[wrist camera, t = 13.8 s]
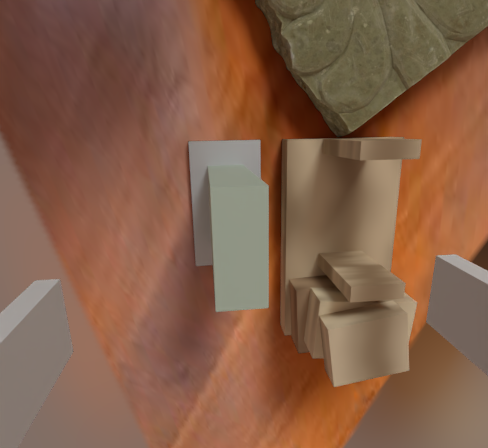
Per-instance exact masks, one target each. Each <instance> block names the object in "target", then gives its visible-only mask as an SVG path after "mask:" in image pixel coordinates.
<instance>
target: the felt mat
mask: <svg viewBox="0 0 488 448" xmlns="http://www.w3.org/2000/svg"><path fill="white" fill-rule="evenodd" d="M188 143H189V160H190V177H191V194H192V211H193V228H194V245H195V261H196V266H206V265H213V263H212V248H211V228H210V207H209V185H208V166H220V165H244V166H245V167H246V168H247V169H249V170H250V171H251V172H252V173H254V174H255V175H256V176H257V177H258V178H260V179H261V170H260V140H230V141H189V142H188Z"/></svg>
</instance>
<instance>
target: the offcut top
mask: <svg viewBox="0 0 488 448" xmlns="http://www.w3.org/2000/svg"><path fill="white" fill-rule="evenodd" d="M319 320H320V329H321V338H322V347H323V356H324V365H325V370H326V372H327V374H328V376H329V378H330V380H331V382H332V384H333V386H334V387H336V386H341V385H345V384H350V383H354V382H359V381H363V380H368V379H373V378H377V377H382V376H386V375H391V374H395V373H400V372H404V371H409V348H408V315H407V312H405V311H404V310H403V309H402V308H401V307H400V306H399V305H398V304H396V303H395V302H394V301H393V300H392V301H387V302H382V303H378V304H373V305H368V306H363V307H358V308H353V309H348V310H344V311H339V312H334V313H329V314H324V315H319Z"/></svg>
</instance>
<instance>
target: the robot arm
mask: <svg viewBox="0 0 488 448" xmlns="http://www.w3.org/2000/svg"><path fill="white" fill-rule="evenodd" d="M426 322H427V323H428V324H429V325H430V326H432V327H433V328H434V329H435V330H436V331H437V332H438V333H439V334H441V335H442V336H443V337H444V338H445V339H446V340H448V341H449V342H450V343H451V344H452V345H453V346H454V347H455V348H457V349H458V350H459V351H460V352H461V353H462V354H463V355H465V356H466V357H467V358H468V359H469V360H470V361H472V362H473V363H474V364H475V365H476V366H477V367H478V368H479V369H481V370H482V371H483V372H484V373H485V374H486V375H488V271H487V270H485V269H483V268H481V267H479V266H477V265H475V264H473V263H471V262H469V261H467V260H465V259H463V258H461V257H459V256H457V255H439V256H436V260H435V267H434V273H433V280H432V287H431V293H430V300H429V307H428V313H427V320H426ZM72 353H73V347H72V341H71V336H70V330H69V325H68V319H67V314H66V308H65V303H64V298H63V292H62V286H61V281H60V279H53V280H38V281H37V280H36V281H34V282H33V283H32V284H31V285H30V286H29V287H28V288H27V289H26V290H25V291H23V292H22V293H21V294H20V295H19V296H18V297H17V298H16V299H15V300H14V301H13V302H12V303H11V304H10V305H8V306H7V307H6V308H5V309H4V310H3V311H2V312H1V313H0V448H18V447H19V445H20V444H21V442H22V440H23V438H24V436H25V435H26V433H27V431H28V430H29V428H30V426H31V424H32V423H33V421H34V419H35V418H36V416H37V414H38V412H39V411H40V409H41V407H42V405H43V404H44V402H45V400H46V398H47V396H48V395H49V393H50V391H51V390H52V388H53V386H54V384H55V383H56V381H57V379H58V377H59V376H60V374H61V372H62V370H63V369H64V367H65V365H66V363H67V362H68V360H69V358H70V356H71V355H72Z"/></svg>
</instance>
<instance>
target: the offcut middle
mask: <svg viewBox="0 0 488 448" xmlns="http://www.w3.org/2000/svg"><path fill="white" fill-rule="evenodd" d="M392 300H393V301H394V302H395V303H396V304H398V305H399V306H400V307H401V308H402V309H403V310H404V311H405V312H407V315H408V343H409V339H410V334H411V329H412V325H413V320H414V315H415V311H416V306H417V302H416V301H415V300H413V299H412V298H411V297H410V296H408V295H407V294H406V293H405V292H404V299H392ZM392 300H379V301H365V302H352V303H350V302H349V301H348V300H347V298H346V297H345V296H344V295H343V294H342V293H341V291H340V290H339V289H338V288H312V287H310V295H309V303H308V311H307V319H306V327H305V335H304V342H305V344H306V346H307V348H308V350H309V352H310V354H311V356H312V358H324V356H323V347H322V338H321V329H320V320H319V315H324V314H329V313H334V312H339V311H344V310H348V309H353V308H358V307H363V306H368V305H373V304H378V303H382V302H387V301H392Z"/></svg>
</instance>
